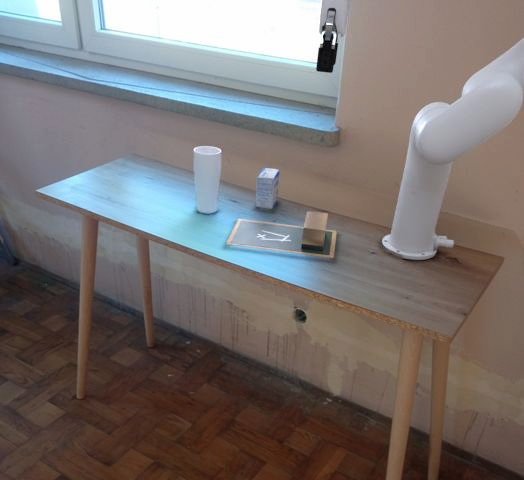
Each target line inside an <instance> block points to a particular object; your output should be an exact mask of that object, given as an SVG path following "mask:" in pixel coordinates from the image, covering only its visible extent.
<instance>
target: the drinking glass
mask: <svg viewBox="0 0 524 480" xmlns="http://www.w3.org/2000/svg"><path fill="white" fill-rule="evenodd" d="M192 151H193V152H192V153H193V154H192V165H193V179H194V180H193V181H194V189H195V190H194V191H195V201H196V203H195V205H196V207H195V208H196V211H197V212H199V213H201V214H205V215H209V214H210V215H211V214H214V213H216V212H217V211H218V208H219V194H220V184H221V175H222V174H221V173H222V162H223V161H222V149H221V148H218V147H216V146H211V145H203V146H202V145H201V146H196V147H194V148H193V150H192Z"/></svg>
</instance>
